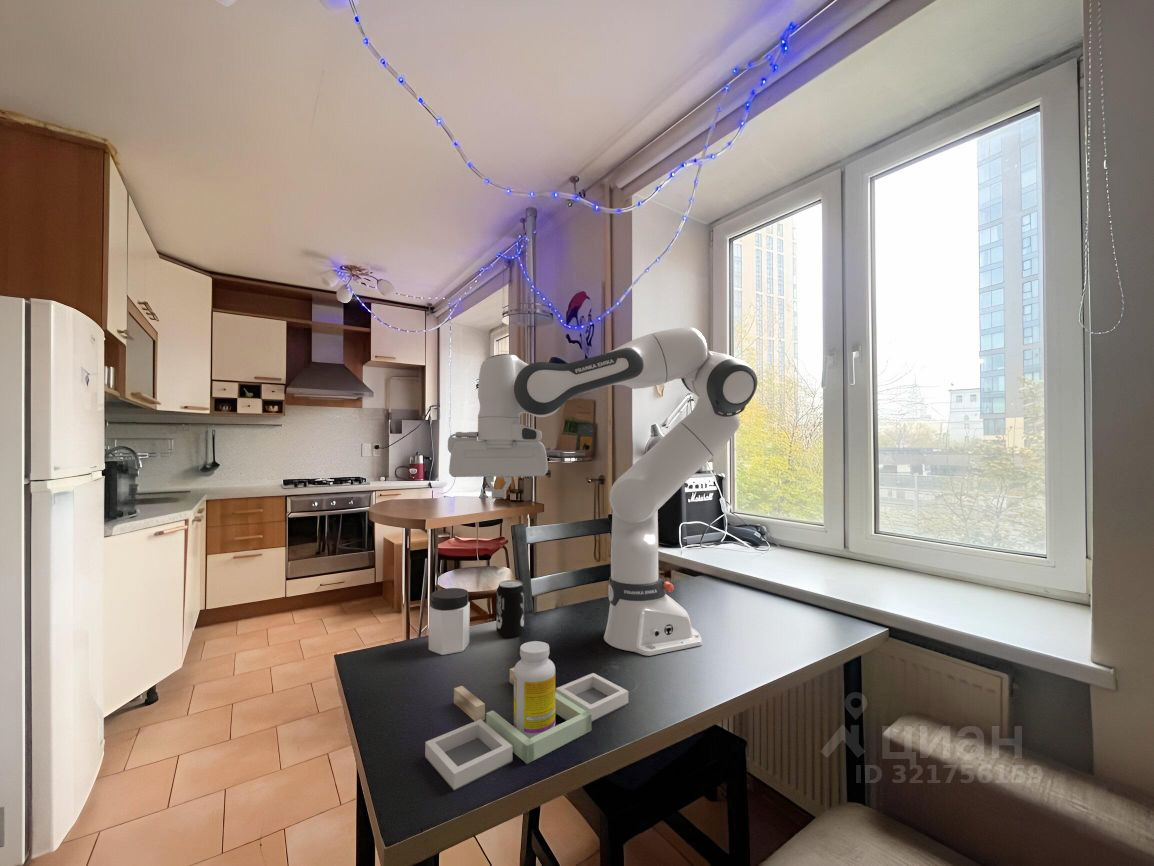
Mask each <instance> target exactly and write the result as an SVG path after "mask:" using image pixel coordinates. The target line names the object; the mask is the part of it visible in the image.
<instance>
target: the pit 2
mask: <svg viewBox="0 0 1154 866" xmlns="http://www.w3.org/2000/svg"><path fill="white" fill-rule="evenodd" d="M555 692H556V693H558V694H559V695H561V696H562V697H564V698H566V699H567V700H569V701H571V702H572V703H574V704H575V705H577V706H579V707H580V708H582V709H583V710H585V711H587V712H588V713H590V714H592V723H594V722H595V721H598V720H600V719H601V718H603V717H606V716H607V715H610V714H611V713H613V712H615V711H617V710H619V709H621V708H623V707H625V706H626V705H629V690H627V689H625V688H623V687H621V686H619V685H617V684H615V683H613V682H611V681H609V680H608V679H606V678H604V677H602V676H600V675H598V674H597V673H594V672H592V673H590V674H587V675H584V676H582V677H580V678H577V679H576V680H572V681H570V682H568V683H566V684H562V685H561V686H558V687H555Z"/></svg>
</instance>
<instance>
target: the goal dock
mask: <svg viewBox="0 0 1154 866" xmlns="http://www.w3.org/2000/svg"><path fill="white" fill-rule="evenodd" d="M555 715H558V716H559V717H561V718H562V719H563V720H565V721H564V722H562V723H559V724H556V725H555V727H553V728H551V729H548V730H546V731H544V732H542V733H540V734H538V735H536V736H534V737H532V738H530V739H529V738H527V737H526V736H525V735H524V734H522V733H521V732H520V731H519V730H517V729H516V728H515V727H514V725H512V724H511V723H510V722H508V721H507V719H505V718H503V717H502V716H501V715H500V714H498V713H497V712H496V711H494V710H490V711H488V712H485V719H486V721H485V723H486V724H487V725H488V726H489V727H491V728H492V729H493V730H494V731H495V732H497V733H498V734H499V735H500V736H501V737H502V738H504V739H505V740H506V741H507V742H508V743H510V744H511V745H512V746H513V753H514V755H516V756H517V757H518V758H519V759H521V760H522V761H523V762H524V763H525V764H527V765H528V764H530V763H531V762H533V761H535V760H536V761H537V760H538V759H539V758H542V757H543V756H545V755H547V754H549V753H552V751H555V750H557V749H558V748H560V747H562V746H564V745H566V744H568V743H570V742H572V741H574V740H576V739H578V738H580V737H582V736H584V735H586V734H587V733H590V732H592V728H593V727H592V723H593V722H592V714H590V713H588V712H587V711H585V710H583V709H582V708H580V707H579V706H577V705H575V704H574V703H572V702H571V701H569V700H567V699H566V698H564V697H562V696H561V695H559V694H558V693H556V691H555Z"/></svg>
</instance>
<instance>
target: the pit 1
mask: <svg viewBox="0 0 1154 866" xmlns="http://www.w3.org/2000/svg"><path fill="white" fill-rule="evenodd" d="M424 743H425V745H424V746H425V747H424V748H425V752H424V755H425V756H424V758H425V759H426V760H427V762H428V763H429V764H430V765H431V767H433V768H434V770H436V772H437V773H438V774H439V776H440V777H441V778H442V779H443V780H444V781H445V783H447V784H448V786H449V787H450V788H451V789H452V791H454V792H455V791H457V790H459V789H461V788H463V787H465V786H467V785H469V784H471V783H472V782H473V783H474V782H475V781H477V780H479V779H482V778H483V777H485V776H487V775H490V774H491V773H493V772H496V771H497V770H499V769H501V768H503V767H505V766H507V765H509V764H511V763H513V753H514V752H513V746H512V745H511V744H510V743H508V742H507V741H506V740H505V739H504V738H502V737H501V736H500V735H499V734H498V733H497V732H495V731H494V730H493V729H492V728H491V727H489V726H488V725H487V724H486V721H484V720H481V719H480V720H477V721H474V722H473V721H472V722H470V723H468V724H466V725H463V726H460V727H458V728H456V729H453V730H451V731H449V732H446V733H443V734H441V735H439V736H436V737H434V738H431V739H429V740H427V741H425V742H424Z"/></svg>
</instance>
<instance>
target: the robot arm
mask: <svg viewBox="0 0 1154 866" xmlns="http://www.w3.org/2000/svg"><path fill="white" fill-rule="evenodd" d="M678 379H679V380H680V379H681V382H682V384H683V386H684V387H685V388H686V389H687V390H688V391H689V392H691V393H693V394H694V395H695V396H697V397H698V398H697V402H696V404H695V406H694V408H693V409H692V411H690V413H688V414H687V415H686V416H685V417H683V419H682V420H680V421H679V422H678V423H677V424H676V425H675V426H674V427H672V429H670V430H669V432H667V433H666V434H665V435H664V436H663V437H662V438H660V440H659V441H657V442H656V443H655V444H654V445H653V446H652V447H651V448H650V449H649V450H648V451H647V452H646V453H644V454H643V456H641V457H640V458H638V460H637V461H636V462H635V463H634V464H633V465H632V466H630V467H629V468H628V469H627V470H626V471H625V472H624V473H623V474H621V475H620V476H619V477H618V478H617V479H616V480H615V481H614V482H613V484H612V486H611V488H610V491H609V504H610V507H611V509H612V512H611V513H612V514H611V515H612V516H611V517H612V519H611V536H610V537H611V539H610V576H609V579H608V601H609V609H608V610H609V611H608V617H607V624H606V629H605V632H604V635H603V640H604V642H606V643H607V644H608V645H609V646H611V647H613V648H616V649H619V650H624V651H628V652H634V653H636V654H639V655H642V656H646V657H648V656H649V657H650V656H655V655H659V654H664V653H669V652H675V651H679V650H684V649H690V648H695V647H699V646H702V645H703V638H702V636H701V634H700V633H699V632H698V631H697V630H696V629H695V628H694V627H692V622H691V619H690V618H691V617H690V615H689V614H688V613H689V612H687V610H686V609H685V608H684V607H682V606H681V605H680V604H679V603H678V602H676V600H674V599H673V598H672V597H670V596H669V595H668V594H667V593H672V592H673V591H674V588H675V586H674V585H673V583H670V581H665V580H664V579H663V578H660V577H659V521H658V519H659V516H658V515H659V513H658V512H659V511H658V510H659V509H660V508H661V507H663V506H664V505H665V504H666V502H667V501H669V499H671V498H672V497H673V495H675V493H677V492H678V490H679V489H681V488H682V486H683V485H685V483H686V482H687V481H688V480H689V479H690V478H691V477H692V476H693V475H695V474H696V473H697V472H698V471H700V469H701V468H703V467H704V466H705V465H706V464H707V463H708V462H709V461H710V460H711V459H712V458H714V457H715V456H716V455H717V454H718V453H719V451H721V450H722V449H723V447H724V446H725V445H726V444H727V443H728V442H729V441H730V440H731V438H732V437H733V436H734V435H735V433H736V432H737V431H738V429H739V426H740V425H741V423H740V422H741V421H740V416H739V414H741V413H742V412H744V411H745V408H746V406H747V405H748V404H749V403H750V402H751V400H752V399H753V397H754V395H755V393H756V391H757V387H758V377H757V375H756V372H755V371H754V368H752V367H751V366H750V365H749V364H748V363H747V362H745V361H743V360H742V359H738V358H736V357H733V356H732V355H729V354H726V353H723V352H722V353H721V352H717V351H713V350H710V349H708V343H707V341H706V338H705V337H704V335H703V334H702V333H701V332H700V330H698V329H697V328H695V327H690V326H689V327H687V326H685V327H676V328H675V327H674V328H670V329H664V330H659V331H656V332H652V333H649V334H646V335H643V336H640V337H637V338H635V339H633V340H630V341H628V342H626V343H624V344H621V345H620V346H618V347H617V348H614V349H613V350H610V351H608V352H605V353H602V354H598V355H595V356H592V357H587V358H583V359H580V360H577V361H572V362H568V363H554V362H549V361H537V362H536V361H535V362H532V363H527V362H525V361H523V360H521V359H520V357H518V356H517V355H516V354H513V353H501V354H495V355H491V356H489V357H487V358H486V359H484V361H483V362H482V363H481V365H480V368H479V374H478V388H477V398H478V401H479V411H478V415H477V431H468V432H464V431H456V432H455V433H452V434H451V435H449V437H448V440H447V451H449V454H450V457H449V458H450V459H449V467H448V473H449V475H450V476H451V478H452V477H453V478H474V477H475V478H478V477H479V478H481V477H482V478H483V477H485V478H486V479H485V481H486V484H487V485H488V487H489V489H490V490H491V500H498V499H499V500H500V499H501V500H503V499H504V500H505V499H507V490H508V489H509V487H510V485H511V484H512V481H513V480H512V479H513V478H512V477H544V476H545V475H546V474H548V470H549V469H548V456H547V449H546V447H545V445H544V444H543V442H542V441H541V440H542V438H543V436H542V435H543V432H542V431H541V430H539V429H536V428H534V427H530V426H529V425H528V426H527V425H524V424H522V423H521V415H522V414H527V415H531V416H534V417H537V418H546V417H549V416H551V415H554V414H555V413H557V412H558V411H559V409H560V408H561V407H562V406H563V405H564V404H565V403H566V402H567V401H568V400H570V399H572V398H573V397H576V396H577V395H582V394H584V393H588V392H591V391H595V390H598V389H602V388H605V387H606V388H607V387H608V386H615V385H616V386H619V385H620V386H625V387H628V388H630V389H633V390H635V389H636V390H637V389H646V388H651V387H655V386H656V387H657V386H660V385H662V384H666V383H669V382H672V381H674V380H678ZM494 477H496V478H497V477H503V481H504V482H505V484H504V485H503V487H502V489H495V488H494V486H493V484H492V483H494V482H495V481H494V479H495V478H494ZM666 592H667V593H666Z"/></svg>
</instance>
